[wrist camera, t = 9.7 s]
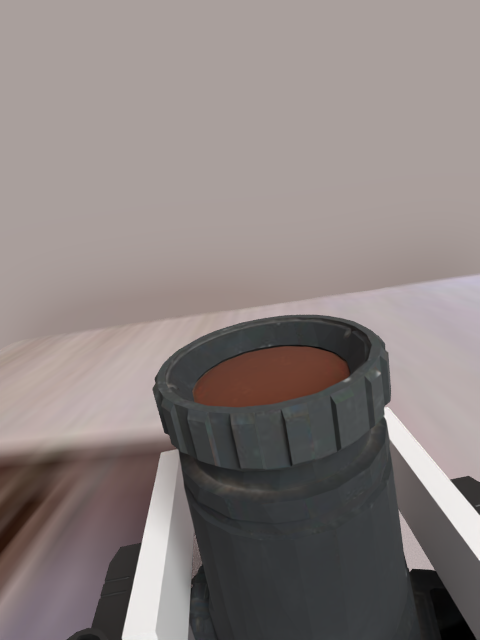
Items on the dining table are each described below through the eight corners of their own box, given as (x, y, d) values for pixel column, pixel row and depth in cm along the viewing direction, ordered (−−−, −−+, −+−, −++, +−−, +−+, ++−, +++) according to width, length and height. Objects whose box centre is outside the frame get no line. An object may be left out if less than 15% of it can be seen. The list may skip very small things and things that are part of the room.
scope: (828, 478, 4) (-10, 478, 6) (642, 1037, 8) (184, 895, 10) (490, 278, 11) (175, 316, 14) (486, 615, 15) (244, 595, 18)
